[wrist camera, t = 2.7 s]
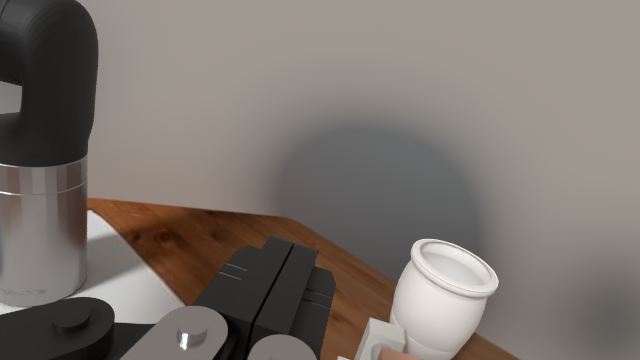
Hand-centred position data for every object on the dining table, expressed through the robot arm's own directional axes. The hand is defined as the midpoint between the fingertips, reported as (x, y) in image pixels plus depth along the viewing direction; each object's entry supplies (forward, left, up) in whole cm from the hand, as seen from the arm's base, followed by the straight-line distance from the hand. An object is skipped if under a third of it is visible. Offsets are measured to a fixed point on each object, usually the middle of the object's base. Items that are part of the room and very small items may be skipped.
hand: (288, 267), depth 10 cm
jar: (-20, +27, -28) cm, 44 cm away
